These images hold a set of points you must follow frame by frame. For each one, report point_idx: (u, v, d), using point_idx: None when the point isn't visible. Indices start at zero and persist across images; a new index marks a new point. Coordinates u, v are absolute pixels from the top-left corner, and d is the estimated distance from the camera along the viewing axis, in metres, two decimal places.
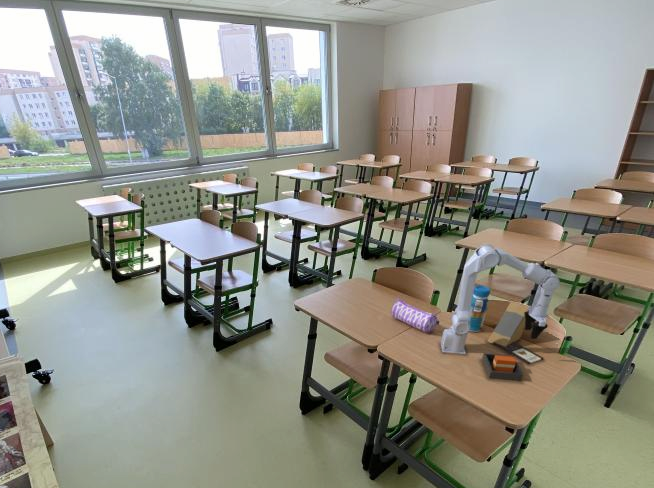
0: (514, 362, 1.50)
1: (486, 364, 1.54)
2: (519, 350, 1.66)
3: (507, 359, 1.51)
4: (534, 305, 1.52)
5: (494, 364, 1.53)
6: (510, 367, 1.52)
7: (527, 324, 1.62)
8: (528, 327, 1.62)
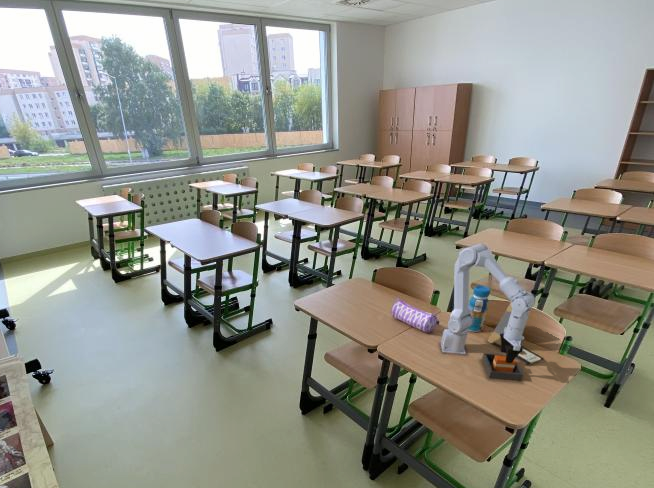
0: (514, 362, 1.50)
1: (486, 364, 1.54)
2: None
3: None
4: (508, 328, 1.44)
5: (494, 364, 1.53)
6: (510, 367, 1.52)
7: (503, 346, 1.53)
8: (504, 349, 1.54)
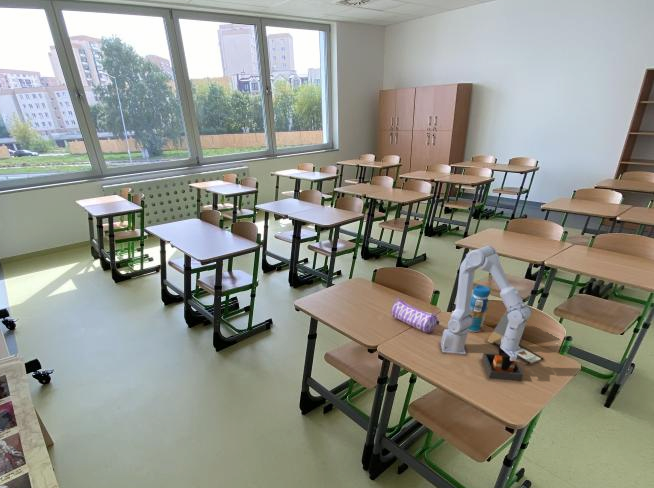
0: (514, 362, 1.50)
1: (486, 364, 1.54)
2: (519, 350, 1.66)
3: None
4: (505, 338, 1.46)
5: (494, 364, 1.53)
6: (510, 367, 1.52)
7: None
8: None
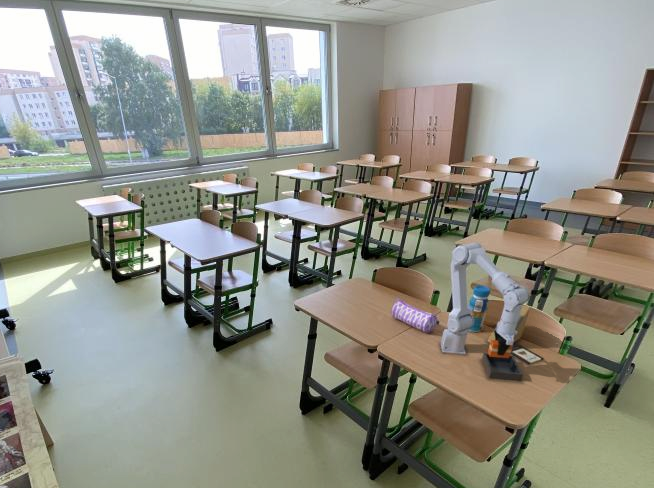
0: (511, 347, 1.46)
1: (486, 364, 1.54)
2: (519, 350, 1.66)
3: None
4: (501, 322, 1.42)
5: (490, 349, 1.49)
6: (507, 352, 1.48)
7: None
8: None
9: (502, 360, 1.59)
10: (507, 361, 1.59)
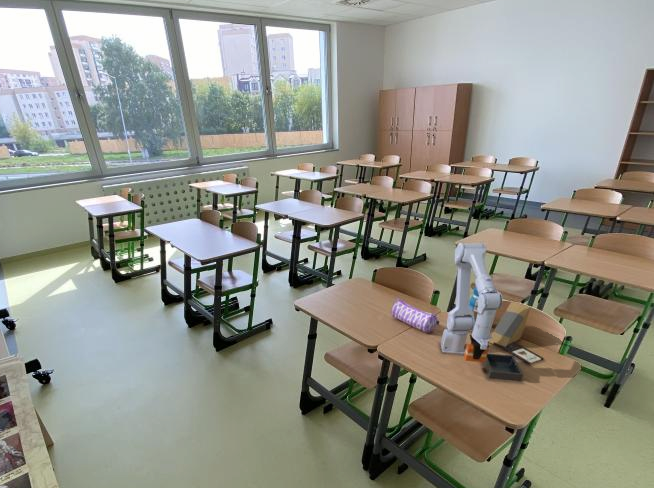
0: (486, 351, 1.46)
1: (486, 364, 1.54)
2: (519, 350, 1.66)
3: None
4: (476, 326, 1.42)
5: (466, 353, 1.49)
6: (482, 356, 1.48)
7: None
8: None
9: (502, 360, 1.59)
10: (507, 361, 1.59)
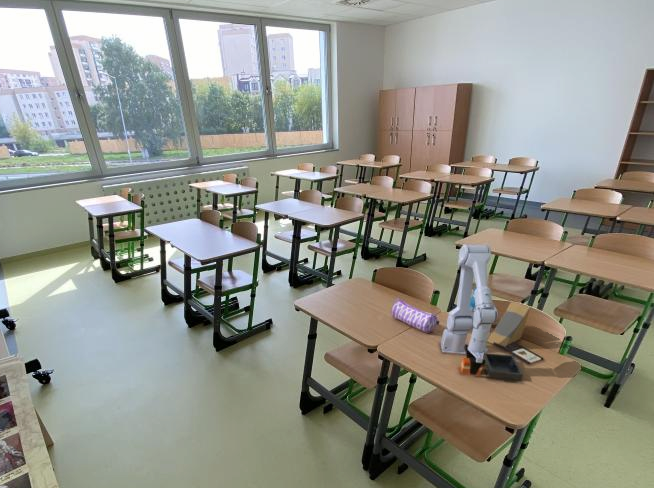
0: None
1: (486, 364, 1.54)
2: (519, 350, 1.66)
3: None
4: (472, 340, 1.45)
5: (462, 366, 1.52)
6: None
7: None
8: None
9: (502, 360, 1.59)
10: (507, 361, 1.59)
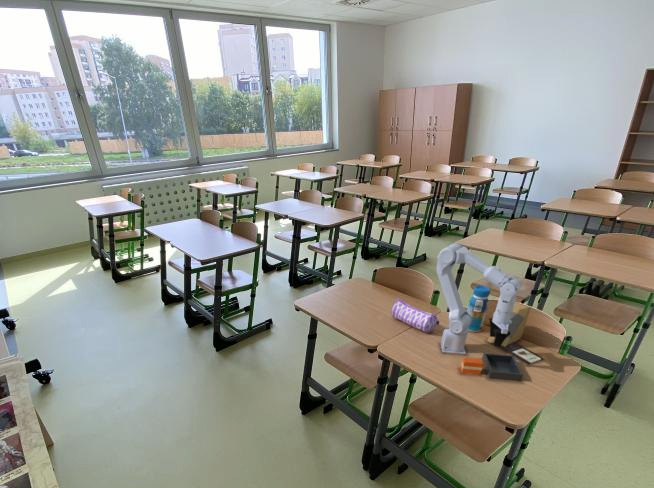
0: (481, 364, 1.50)
1: (486, 364, 1.54)
2: (519, 350, 1.66)
3: (474, 361, 1.50)
4: (497, 312, 1.48)
5: (462, 366, 1.52)
6: (478, 369, 1.51)
7: (492, 331, 1.58)
8: (493, 333, 1.58)
9: (502, 360, 1.59)
10: (507, 361, 1.59)
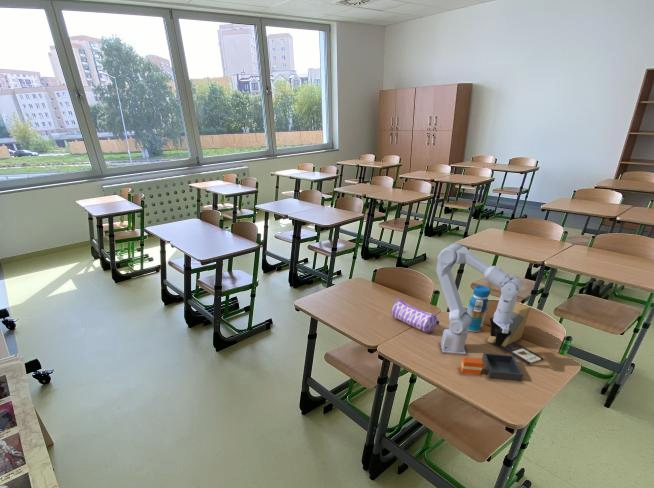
0: (481, 364, 1.50)
1: (486, 364, 1.54)
2: (519, 350, 1.66)
3: (474, 361, 1.50)
4: (498, 311, 1.49)
5: (462, 366, 1.52)
6: (478, 369, 1.51)
7: (493, 330, 1.58)
8: (494, 333, 1.59)
9: (502, 360, 1.59)
10: (507, 361, 1.59)
